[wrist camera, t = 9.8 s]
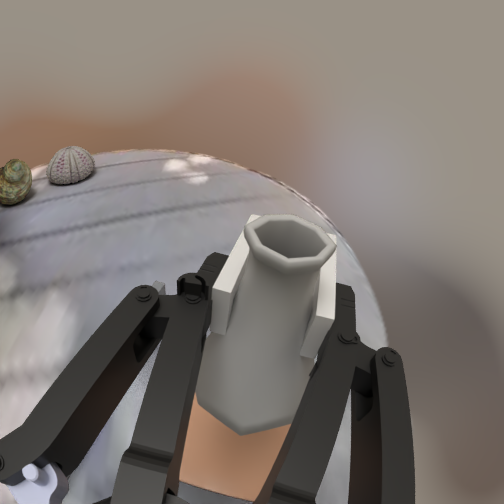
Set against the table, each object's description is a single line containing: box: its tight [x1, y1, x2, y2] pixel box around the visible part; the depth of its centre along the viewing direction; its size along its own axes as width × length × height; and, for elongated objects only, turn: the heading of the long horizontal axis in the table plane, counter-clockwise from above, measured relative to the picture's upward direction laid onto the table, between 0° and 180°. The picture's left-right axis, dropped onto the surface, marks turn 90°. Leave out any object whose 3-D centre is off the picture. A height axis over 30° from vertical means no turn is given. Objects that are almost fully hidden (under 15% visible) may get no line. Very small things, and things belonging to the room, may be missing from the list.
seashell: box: [0, 159, 32, 205], centre depth 48 cm, size 11×11×10 cm
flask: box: [195, 214, 337, 436], centre depth 13 cm, size 7×7×10 cm
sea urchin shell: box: [46, 146, 95, 184], centre depth 60 cm, size 13×14×8 cm
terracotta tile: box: [179, 393, 291, 502], centre depth 23 cm, size 12×12×1 cm
